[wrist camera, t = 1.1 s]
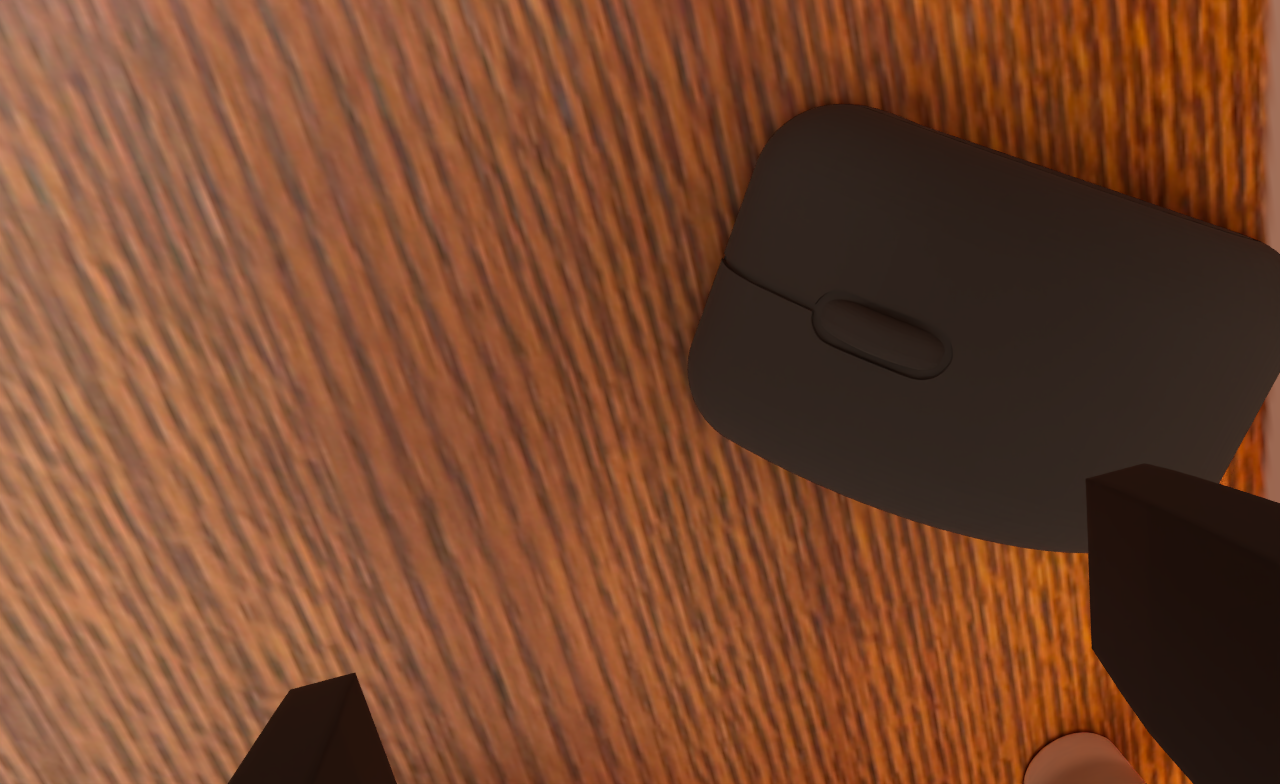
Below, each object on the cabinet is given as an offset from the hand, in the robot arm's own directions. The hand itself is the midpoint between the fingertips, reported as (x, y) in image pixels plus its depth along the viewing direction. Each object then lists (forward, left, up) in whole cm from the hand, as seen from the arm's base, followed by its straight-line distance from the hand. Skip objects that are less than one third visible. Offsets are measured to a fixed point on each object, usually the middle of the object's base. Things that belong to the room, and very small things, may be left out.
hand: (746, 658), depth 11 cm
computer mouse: (-2, -7, -10) cm, 13 cm away
